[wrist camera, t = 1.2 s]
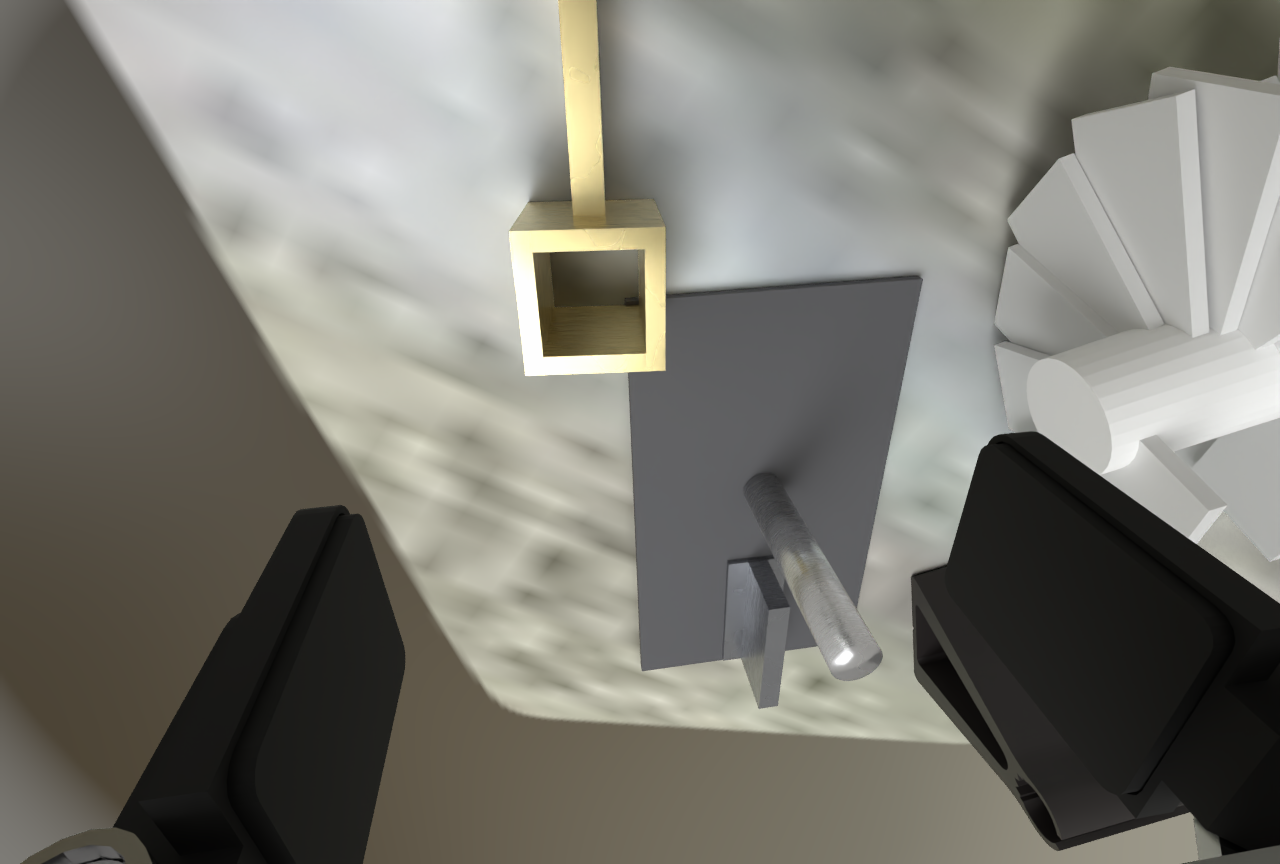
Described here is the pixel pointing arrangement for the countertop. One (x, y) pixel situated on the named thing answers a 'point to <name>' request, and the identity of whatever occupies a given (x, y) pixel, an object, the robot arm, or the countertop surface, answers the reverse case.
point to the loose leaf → (588, 238)
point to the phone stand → (1009, 725)
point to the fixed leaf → (764, 609)
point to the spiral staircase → (1158, 302)
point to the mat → (759, 443)
